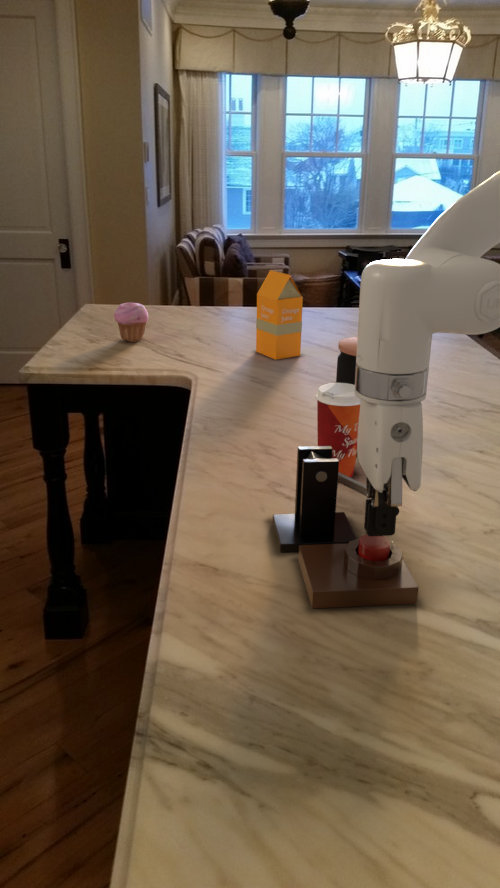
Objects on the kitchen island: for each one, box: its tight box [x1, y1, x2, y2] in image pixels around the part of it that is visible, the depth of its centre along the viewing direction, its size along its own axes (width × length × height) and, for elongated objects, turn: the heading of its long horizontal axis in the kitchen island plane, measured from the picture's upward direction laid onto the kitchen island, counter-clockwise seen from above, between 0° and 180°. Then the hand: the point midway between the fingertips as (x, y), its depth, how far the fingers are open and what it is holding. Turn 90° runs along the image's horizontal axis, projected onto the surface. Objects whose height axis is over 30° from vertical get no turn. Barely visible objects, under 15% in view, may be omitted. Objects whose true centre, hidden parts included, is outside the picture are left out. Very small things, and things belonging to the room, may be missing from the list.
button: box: [358, 533, 391, 561], centre depth 82 cm, size 4×4×2 cm
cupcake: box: [113, 301, 149, 343], centre depth 185 cm, size 9×9×10 cm
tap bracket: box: [272, 445, 357, 553], centre depth 91 cm, size 10×8×12 cm
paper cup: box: [314, 382, 361, 478], centre depth 109 cm, size 8×8×14 cm
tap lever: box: [307, 451, 400, 517], centre depth 91 cm, size 13×6×2 cm, turn 96°
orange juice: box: [255, 269, 304, 361], centre depth 173 cm, size 8×9×20 cm
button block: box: [297, 537, 420, 609], centre depth 83 cm, size 12×10×4 cm
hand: (379, 532), depth 81 cm, fingers closed
